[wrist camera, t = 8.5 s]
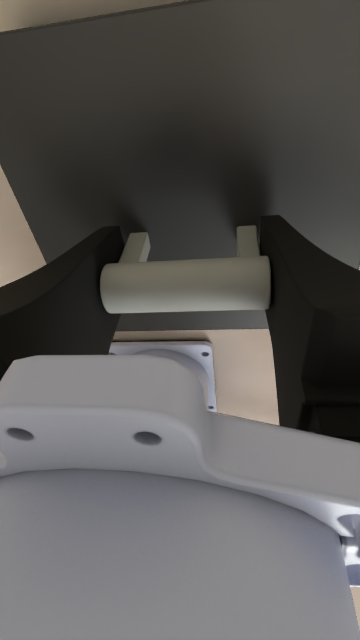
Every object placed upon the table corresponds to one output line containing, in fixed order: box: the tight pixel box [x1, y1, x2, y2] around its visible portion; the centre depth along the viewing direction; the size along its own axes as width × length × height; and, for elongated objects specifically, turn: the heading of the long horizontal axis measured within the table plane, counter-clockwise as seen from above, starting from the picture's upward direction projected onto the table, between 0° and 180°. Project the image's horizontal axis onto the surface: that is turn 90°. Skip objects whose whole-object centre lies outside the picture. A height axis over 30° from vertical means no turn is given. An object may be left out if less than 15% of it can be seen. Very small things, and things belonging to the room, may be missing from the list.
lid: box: [0, 0, 360, 331], centre depth 11 cm, size 11×13×4 cm
